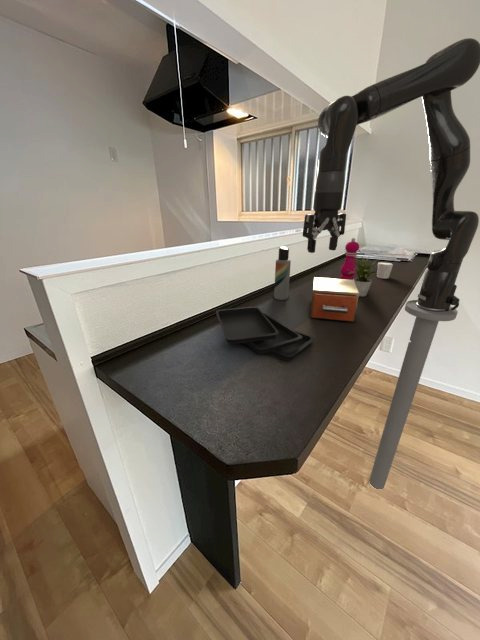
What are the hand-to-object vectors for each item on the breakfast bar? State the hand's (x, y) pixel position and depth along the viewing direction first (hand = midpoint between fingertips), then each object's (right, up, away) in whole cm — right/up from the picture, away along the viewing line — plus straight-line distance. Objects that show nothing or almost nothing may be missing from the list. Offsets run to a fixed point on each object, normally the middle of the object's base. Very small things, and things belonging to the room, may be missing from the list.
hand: (322, 251), depth 79 cm
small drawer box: (+8, -17, +14) cm, 24 cm away
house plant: (+24, -10, +32) cm, 41 cm away
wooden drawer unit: (+6, -18, +10) cm, 22 cm away
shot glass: (+49, +1, +56) cm, 74 cm away
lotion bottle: (-8, -12, +28) cm, 31 cm away
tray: (-20, -27, -5) cm, 34 cm away
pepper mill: (+29, -1, +52) cm, 59 cm away
